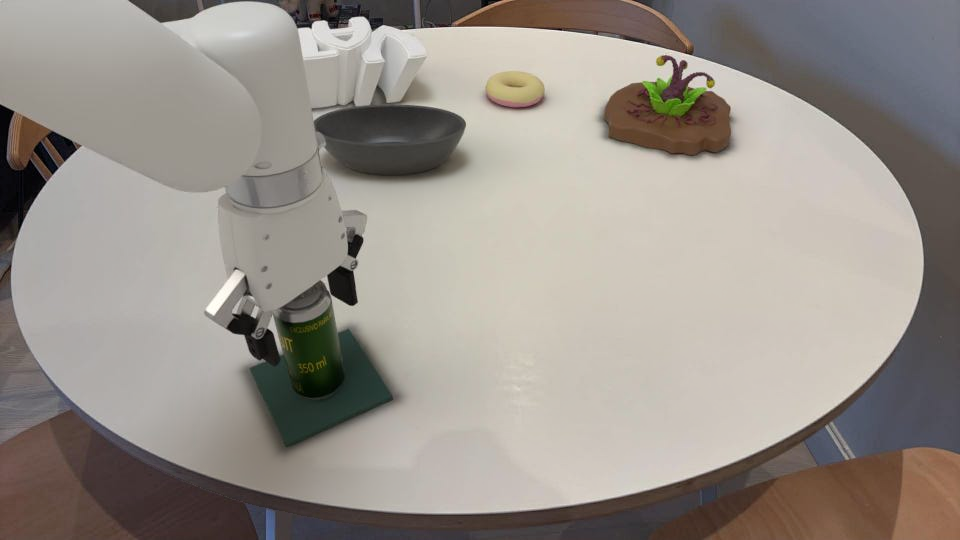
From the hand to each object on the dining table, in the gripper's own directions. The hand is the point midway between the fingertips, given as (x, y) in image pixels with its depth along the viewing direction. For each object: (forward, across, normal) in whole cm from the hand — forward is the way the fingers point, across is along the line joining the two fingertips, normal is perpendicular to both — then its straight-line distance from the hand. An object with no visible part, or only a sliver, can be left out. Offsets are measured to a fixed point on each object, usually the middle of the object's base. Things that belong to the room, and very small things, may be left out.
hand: (307, 327), depth 65 cm
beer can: (+8, 0, 0) cm, 8 cm away
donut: (+8, -64, -20) cm, 68 cm away
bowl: (+8, -36, -23) cm, 44 cm away
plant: (+8, -72, +4) cm, 72 cm away
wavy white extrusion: (+8, -45, -47) cm, 65 cm away
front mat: (+8, 0, 0) cm, 8 cm away
